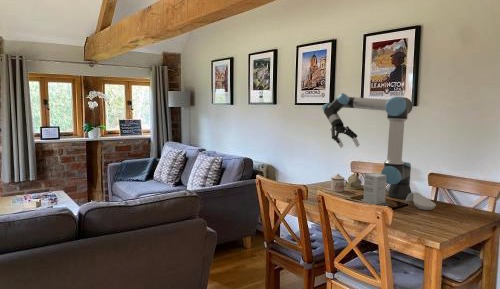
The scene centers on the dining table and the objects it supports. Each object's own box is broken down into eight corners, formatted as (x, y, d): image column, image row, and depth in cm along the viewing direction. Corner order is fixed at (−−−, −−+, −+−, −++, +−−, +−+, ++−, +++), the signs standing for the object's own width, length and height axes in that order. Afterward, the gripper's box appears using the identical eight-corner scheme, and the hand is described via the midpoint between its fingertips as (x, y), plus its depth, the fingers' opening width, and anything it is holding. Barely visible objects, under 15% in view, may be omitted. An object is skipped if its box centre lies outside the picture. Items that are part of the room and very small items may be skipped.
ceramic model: (365, 189, 271) (366, 175, 270) (350, 189, 268) (351, 175, 267) (356, 185, 284) (356, 172, 283) (342, 185, 282) (342, 172, 281)
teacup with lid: (334, 192, 259) (335, 175, 258) (328, 189, 268) (329, 173, 267) (350, 191, 262) (351, 174, 261) (343, 188, 271) (344, 172, 270)
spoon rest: (439, 212, 215) (440, 199, 214) (419, 212, 214) (420, 199, 213) (417, 201, 238) (418, 190, 238) (399, 201, 237) (400, 190, 237)
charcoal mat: (382, 201, 236) (382, 199, 236) (388, 207, 223) (389, 205, 223) (361, 200, 236) (361, 199, 236) (366, 206, 224) (366, 204, 223)
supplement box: (372, 199, 236) (373, 172, 234) (385, 202, 229) (387, 174, 227) (362, 201, 230) (364, 174, 229) (375, 204, 223) (377, 176, 221)
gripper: (347, 125, 267) (361, 149, 255) (318, 126, 256) (332, 150, 244) (353, 118, 262) (367, 142, 250) (323, 118, 250) (338, 143, 239)
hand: (350, 146), depth 247 cm, fingers open, 13 cm apart
